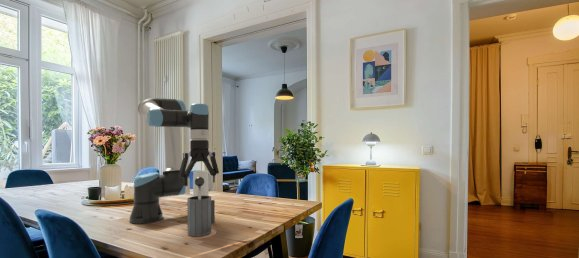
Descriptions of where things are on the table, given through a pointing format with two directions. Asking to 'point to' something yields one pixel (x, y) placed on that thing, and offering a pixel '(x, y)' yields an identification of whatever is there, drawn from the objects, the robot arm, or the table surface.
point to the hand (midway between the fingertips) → (199, 192)
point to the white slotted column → (204, 187)
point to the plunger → (199, 185)
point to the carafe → (200, 216)
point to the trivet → (185, 235)
